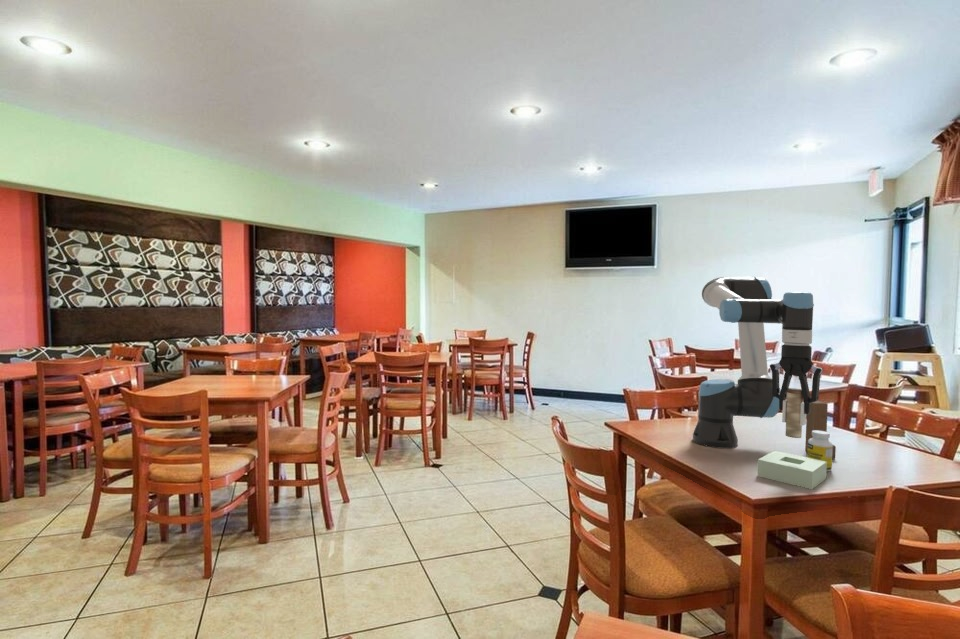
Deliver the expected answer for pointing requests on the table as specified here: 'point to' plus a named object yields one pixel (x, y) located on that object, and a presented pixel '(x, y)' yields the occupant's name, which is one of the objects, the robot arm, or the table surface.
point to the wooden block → (817, 421)
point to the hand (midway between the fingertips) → (793, 422)
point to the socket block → (792, 469)
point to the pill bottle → (820, 447)
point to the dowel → (793, 413)
